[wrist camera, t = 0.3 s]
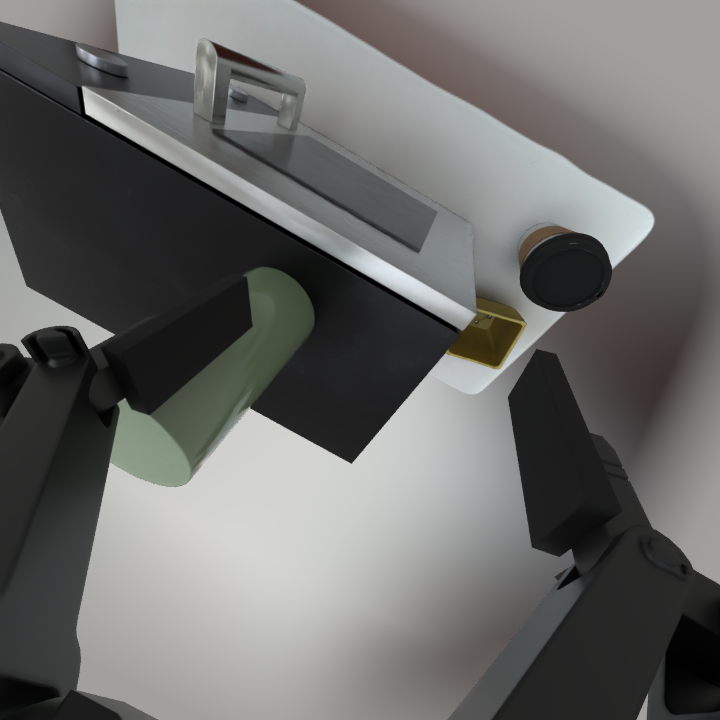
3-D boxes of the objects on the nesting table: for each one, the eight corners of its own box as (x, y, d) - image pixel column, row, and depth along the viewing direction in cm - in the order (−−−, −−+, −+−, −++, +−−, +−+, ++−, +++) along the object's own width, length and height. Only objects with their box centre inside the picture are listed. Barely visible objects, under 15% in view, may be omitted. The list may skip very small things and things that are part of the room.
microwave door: (305, 76, 40) (65, -29, 16) (494, 189, 41) (532, 248, 17) (292, 132, 44) (85, 114, 20) (464, 233, 45) (462, 331, 21)
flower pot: (519, 298, 48) (528, 323, 41) (494, 341, 54) (499, 371, 47) (466, 282, 49) (466, 305, 42) (447, 327, 55) (444, 353, 48)
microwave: (232, 76, 43) (-78, -17, 18) (473, 220, 44) (483, 309, 20) (215, 226, 57) (26, 286, 32) (399, 331, 58) (351, 464, 34)
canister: (242, 250, 22) (28, 349, 11) (325, 293, 23) (192, 432, 12) (232, 322, 27) (70, 444, 16) (302, 358, 27) (189, 504, 16)
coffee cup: (547, 281, 46) (575, 328, 34) (496, 260, 46) (506, 298, 35) (590, 227, 41) (640, 259, 29) (532, 202, 41) (558, 224, 29)
